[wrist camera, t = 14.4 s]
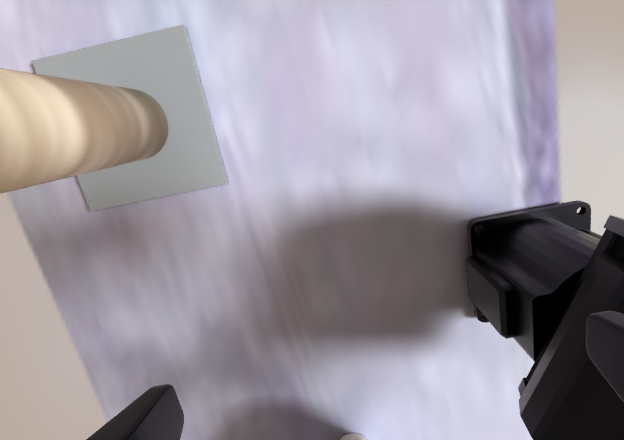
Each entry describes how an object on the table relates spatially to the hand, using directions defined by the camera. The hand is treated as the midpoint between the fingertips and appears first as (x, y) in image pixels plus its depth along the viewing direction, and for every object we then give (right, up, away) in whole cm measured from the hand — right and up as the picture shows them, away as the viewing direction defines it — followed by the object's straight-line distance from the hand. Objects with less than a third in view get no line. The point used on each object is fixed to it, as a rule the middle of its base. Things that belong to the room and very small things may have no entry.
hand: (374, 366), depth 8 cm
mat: (-11, +8, +11) cm, 18 cm away
